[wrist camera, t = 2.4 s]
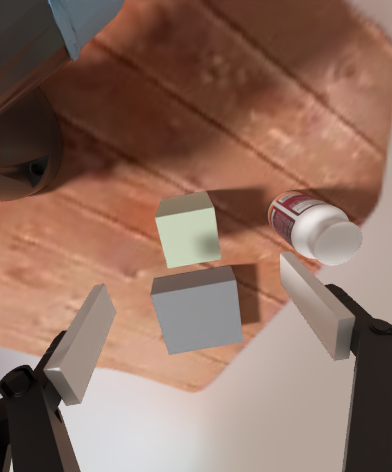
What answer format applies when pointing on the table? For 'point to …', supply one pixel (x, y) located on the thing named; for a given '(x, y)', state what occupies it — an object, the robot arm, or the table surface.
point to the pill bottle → (314, 228)
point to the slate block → (198, 309)
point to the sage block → (188, 229)
